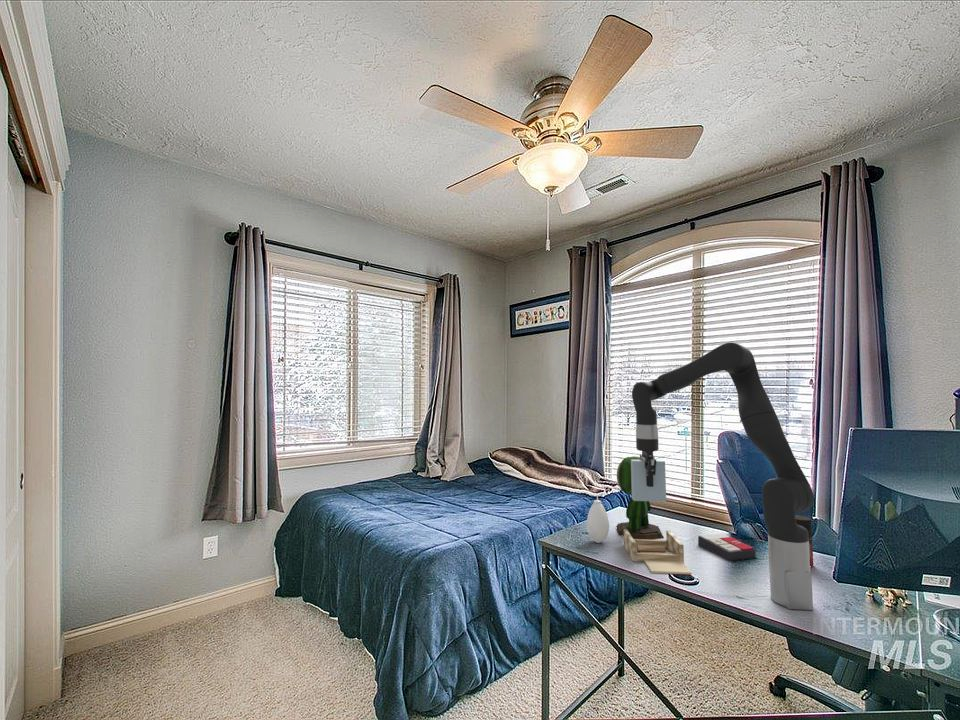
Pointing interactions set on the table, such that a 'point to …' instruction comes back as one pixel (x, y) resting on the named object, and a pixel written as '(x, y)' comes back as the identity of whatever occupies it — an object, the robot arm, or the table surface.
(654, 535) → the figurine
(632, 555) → the rack
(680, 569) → the cork mat
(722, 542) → the dark flat box
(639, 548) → the offcut slab upper
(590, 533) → the white rounded upright piece
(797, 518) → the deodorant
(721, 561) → the table surface
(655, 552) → the offcut slab lower
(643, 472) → the grey rectangular block
